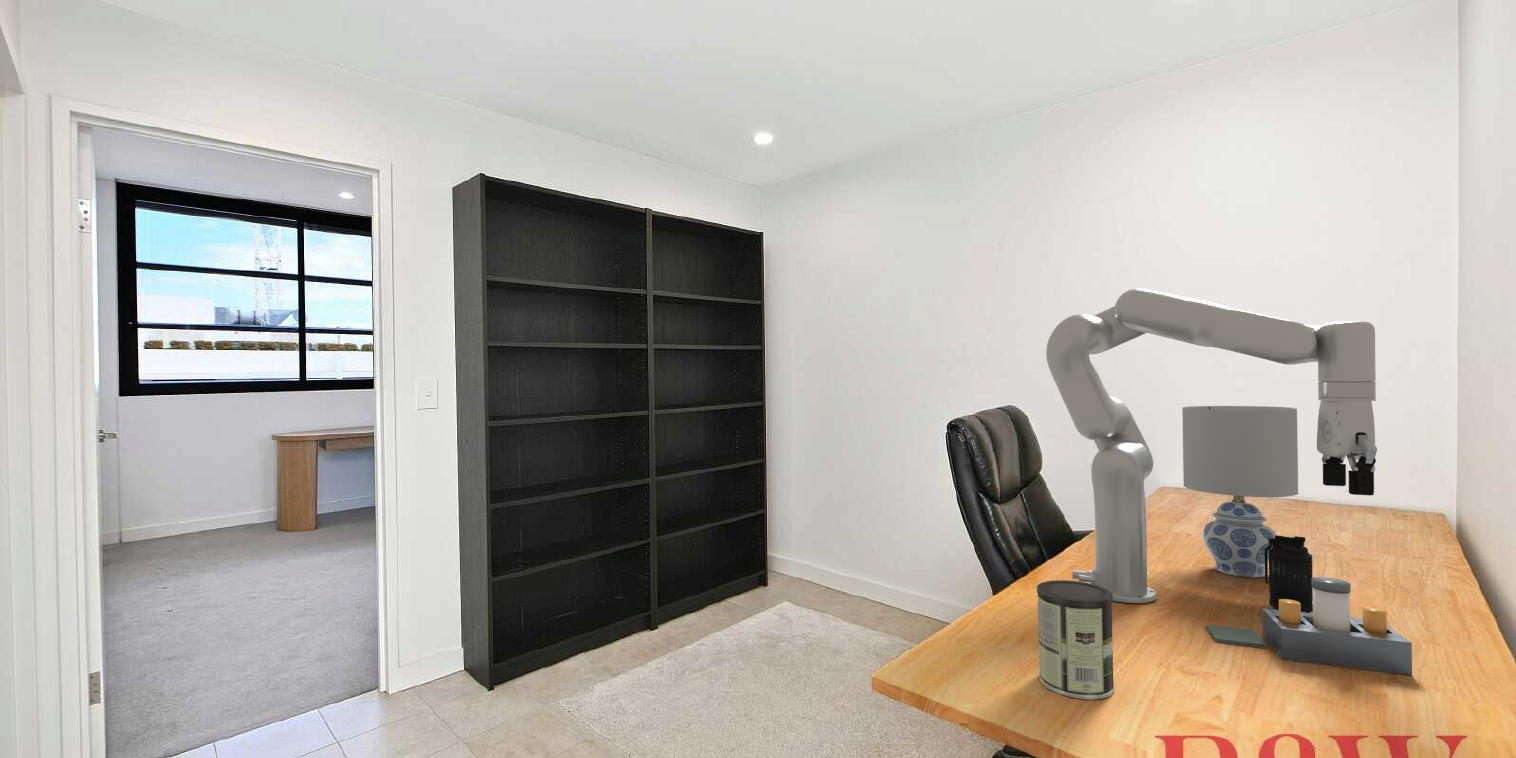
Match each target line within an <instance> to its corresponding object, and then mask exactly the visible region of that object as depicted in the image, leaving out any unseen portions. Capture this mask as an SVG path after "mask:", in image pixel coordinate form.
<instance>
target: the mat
mask: <svg viewBox="0 0 1516 758" xmlns="http://www.w3.org/2000/svg"><path fill="white" fill-rule="evenodd" d="M1205 627H1206V630H1207V631H1208V633H1209V634H1210V636H1211V637H1212V639H1213V640H1214V642H1215V643H1221V644H1229V645H1236V646H1237V645H1239V646H1245V647H1254V648H1261V649H1262V648H1263V649H1266V643H1265V641H1263V639H1261V637H1260V636H1259V635H1258V634H1257V632H1256V631H1255V630H1254V629H1253V628H1252V629H1249V628H1241V627H1234V626H1233V627H1232V626H1222V625H1216V624H1214V625H1213V624H1206V626H1205Z"/></svg>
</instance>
